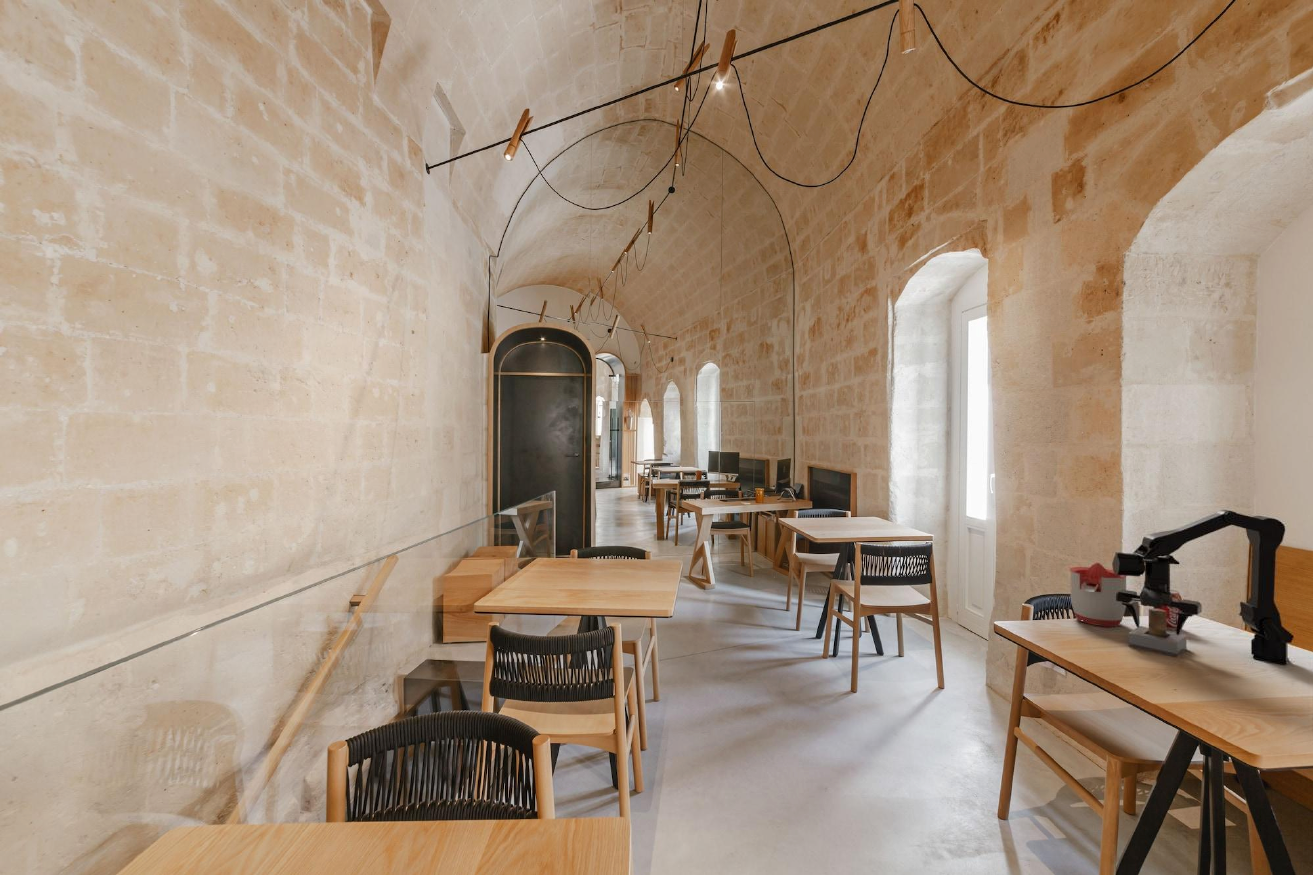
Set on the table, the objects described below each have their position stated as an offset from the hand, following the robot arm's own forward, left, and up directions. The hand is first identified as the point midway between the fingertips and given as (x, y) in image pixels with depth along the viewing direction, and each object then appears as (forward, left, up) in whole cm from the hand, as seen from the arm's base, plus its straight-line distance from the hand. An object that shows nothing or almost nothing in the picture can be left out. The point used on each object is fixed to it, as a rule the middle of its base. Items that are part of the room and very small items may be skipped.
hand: (1157, 630), depth 175 cm
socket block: (0, 0, -5) cm, 5 cm away
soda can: (+3, -27, -5) cm, 28 cm away
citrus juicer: (+19, -15, -5) cm, 25 cm away
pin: (0, 0, -4) cm, 4 cm away
